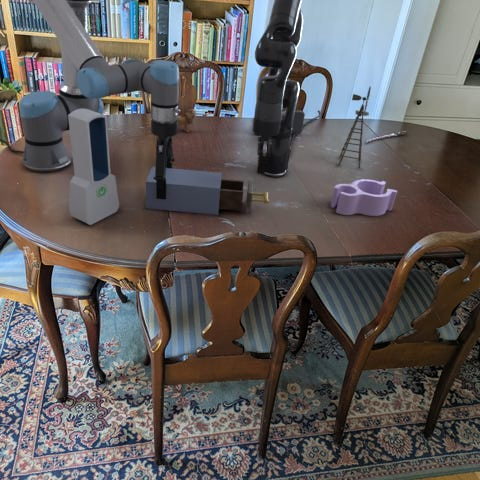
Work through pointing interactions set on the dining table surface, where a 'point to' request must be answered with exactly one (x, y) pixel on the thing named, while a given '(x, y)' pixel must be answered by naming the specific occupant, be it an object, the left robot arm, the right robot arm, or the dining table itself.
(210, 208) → the cabinet
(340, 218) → the dining table surface
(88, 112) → the electronic device
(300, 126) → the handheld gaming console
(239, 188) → the drawer
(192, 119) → the lion figurine
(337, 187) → the clip
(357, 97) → the miniature windmill
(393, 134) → the sword
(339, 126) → the dining table surface
